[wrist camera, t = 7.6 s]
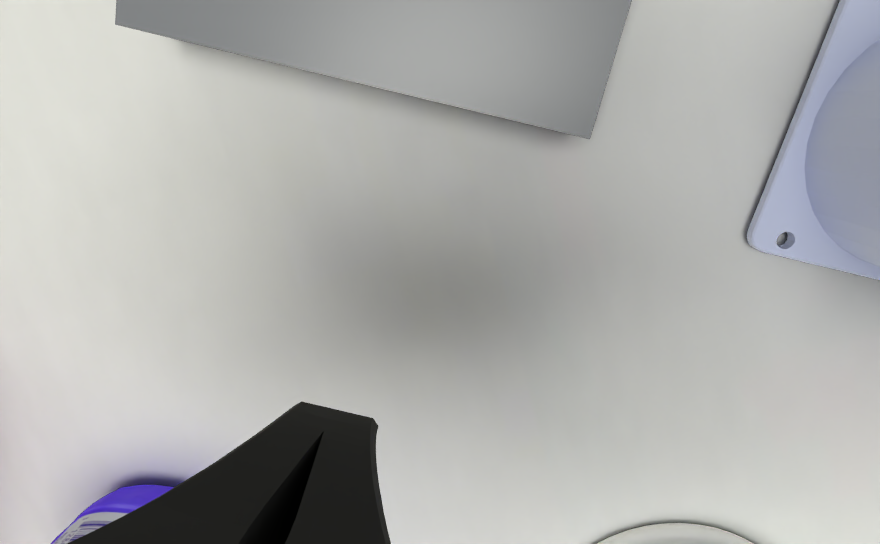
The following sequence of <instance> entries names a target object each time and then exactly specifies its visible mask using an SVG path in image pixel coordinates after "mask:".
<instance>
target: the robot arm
mask: <svg viewBox="0 0 880 544" xmlns="http://www.w3.org/2000/svg"><path fill="white" fill-rule="evenodd" d="M784 232H787V234H788V238H787V241H786V242H785V243H784V244H782V245H781V246H778V245H777V243H776V242H777V238H778V236H779V235H780V234H782V233H784ZM747 240H748V243H749V244H750V245H751V247H753V248H755V249H757V250H759V251H761V252H764V253H768V254H773V255H777V256H781V257H785V258H789V259H793V260H798V261H802V262H806V263H810V264H814V265H818V266H823V267H827V268H831V269H835V270H839V271H843V272H848V273H852V274H856V275H860V276H864V277H868V278H873V279H877V280H880V0H840V2H839V4H838V7H837V9H836V12H835V14H834V17H833V19H832V22H831V24H830V27H829V29H828V32H827V34H826V37H825V39H824V42H823V44H822V47H821V49H820V52H819V54H818V57H817V59H816V62H815V64H814V67H813V69H812V72H811V74H810V77H809V79H808V82H807V84H806V87H805V89H804V91H803V94H802V96H801V99H800V101H799V104H798V106H797V109H796V111H795V114H794V116H793V119H792V121H791V124H790V126H789V129H788V131H787V134H786V136H785V139H784V141H783V144H782V146H781V149H780V151H779V154H778V156H777V159H776V161H775V164H774V166H773V169H772V171H771V174H770V176H769V179H768V181H767V184H766V186H765V189H764V191H763V194H762V196H761V199H760V201H759V204H758V206H757V209H756V211H755V214H754V216H753V219H752V221H751V224H750V226H749V229H748V232H747ZM377 429H378V425H377V424H376V422H375V420H374V419H373V418H369V417H365V416H361V415H356V414H352V413H348V412H344V411H339V410H335V409H331V408H327V407H322V406H318V405H314V404H310V403H305V402H300V403H299V404H297V405H295V406H293V407H292V408H291V409H289V410H288V411H287V412H285V413H284V414H283V415H282V416H280V417H279V418H278V419H276V420H275V421H274V422H272V423H271V424H269V425H268V426H267V427H265V428H264V429H263V430H261V431H260V432H259V433H257V434H256V435H254V436H253V437H252V438H250V439H249V440H247V441H246V442H244V443H243V444H241V445H240V446H239V447H237V448H236V449H234V450H233V451H231V452H230V453H228V454H227V455H225V456H224V457H222V458H221V459H219V460H218V461H216V462H215V463H213V464H212V465H210V466H209V467H207V468H206V469H204V470H202V471H201V472H199V473H197V474H196V475H194V476H192V477H191V478H189V479H187V480H186V481H184V482H182V483H181V484H179V485H177V486H176V487H174V488H172V489H171V490H169V491H168V492H166V493H164V494H163V495H161V496H159V497H157V498H156V499H154V500H152V501H150V502H148V503H147V504H145V505H143V506H141V507H139V508H138V509H136V510H134V511H132V512H130V513H128V514H126V515H124V516H123V517H121V518H119V519H117V520H115V521H113V522H111V523H109V524H107V525H105V526H103V527H101V528H99V529H97V530H95V531H93V532H91V533H88V534H86V535H84V536H82V537H80V538H78V539H76V540H73V541H71V542H69V543H67V544H391V542H390V538H389V534H388V531H387V526H386V521H385V517H384V512H383V506H382V500H381V494H380V489H379V483H378V474H377V464H376V434H377Z"/></svg>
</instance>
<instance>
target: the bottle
mask: <svg viewBox="0 0 880 544" xmlns="http://www.w3.org/2000/svg"><path fill="white" fill-rule="evenodd" d="M172 488H174V487H170V486H161V485H135V486H129V487H122V488H119V489H118V490H116V491H114V492H112V493H109V494H108V495H106V496H104V497H103V498H101V499H99V500H98V501H96V502H95V503H93V504H92V505H91V506H89V507H88V508H87V509H86V510H85V511H83V512H82V513H81V514H80V515H79V516H78V517H77V518H76V519H75V520H74V521H73V523H72V524H71V525H70V526H69V527H68V528H66V529H65V530H64V531H63V532H62V533H61V534H60V535H59V536H57V537H56V539H55V540H54V541H53V542H52V543H51V544H67V543H69V542H71V541H73V540H76V539H78V538H80V537H82V536H84V535H86V534H88V533H91V532H93V531H95V530H97V529H99V528H101V527H103V526H105V525H107V524H109V523H111V522H113V521H115V520H117V519H119V518H121V517H123V516H124V515H126V514H128V513H130V512H132V511H134V510H136V509H138V508H139V507H141V506H143V505H145V504H147V503H148V502H150V501H152V500H154V499H156V498H157V497H159V496H161V495H163V494H164V493H166V492H168V491H169V490H171V489H172Z"/></svg>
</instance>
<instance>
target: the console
mask: <svg viewBox="0 0 880 544" xmlns="http://www.w3.org/2000/svg"><path fill="white" fill-rule="evenodd" d="M631 1H632V0H117V1H116V19H115V25H120V26H124V27H128V28H132V29H136V30H140V31H144V32H148V33H153V34H157V35H161V36H165V37H169V38H173V39H177V40H181V41H186V42H190V43H194V44H198V45H202V46H206V47H210V48H215V49H219V50H223V51H227V52H231V53H235V54H239V55H244V56H248V57H252V58H256V59H260V60H264V61H268V62H272V63H277V64H281V65H285V66H289V67H293V68H297V69H301V70H306V71H310V72H314V73H318V74H322V75H326V76H330V77H335V78H339V79H343V80H347V81H351V82H355V83H359V84H364V85H368V86H372V87H376V88H380V89H384V90H388V91H392V92H397V93H401V94H405V95H409V96H413V97H417V98H421V99H426V100H430V101H434V102H438V103H442V104H446V105H450V106H455V107H459V108H463V109H467V110H471V111H475V112H479V113H483V114H488V115H492V116H496V117H500V118H504V119H508V120H512V121H517V122H521V123H525V124H529V125H533V126H537V127H541V128H546V129H550V130H554V131H558V132H562V133H566V134H570V135H575V136H579V137H583V138H587V139H590V137H591V134H592V131H593V127H594V124H595V121H596V117H597V114H598V111H599V107H600V104H601V101H602V97H603V94H604V91H605V87H606V84H607V81H608V78H609V74H610V71H611V68H612V64H613V61H614V58H615V54H616V51H617V48H618V44H619V41H620V38H621V34H622V31H623V28H624V24H625V21H626V18H627V15H628V11H629V8H630V5H631Z"/></svg>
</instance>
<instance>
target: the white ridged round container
mask: <svg viewBox="0 0 880 544" xmlns="http://www.w3.org/2000/svg"><path fill="white" fill-rule="evenodd" d="M597 544H753V543H752V542H750V541H748V540H747V539H745V538H742V537H740V536H738V535H735V534H733V533H731V532H728V531H724V530H721V529H718V528H715V527H709V526H704V525H699V524H687V523H663V524H655V525H648V526H643V527H638V528H634V529H630V530H627V531H624V532H621V533H619V534H616V535H613V536H611V537H609V538H607V539H605V540H603V541H601V542H599V543H597Z"/></svg>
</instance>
